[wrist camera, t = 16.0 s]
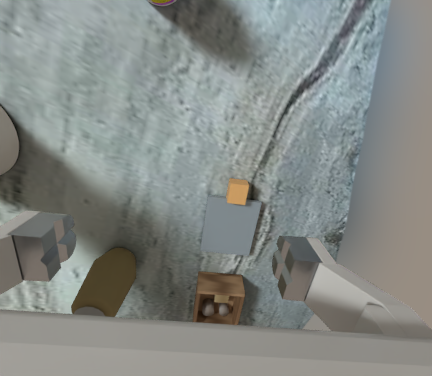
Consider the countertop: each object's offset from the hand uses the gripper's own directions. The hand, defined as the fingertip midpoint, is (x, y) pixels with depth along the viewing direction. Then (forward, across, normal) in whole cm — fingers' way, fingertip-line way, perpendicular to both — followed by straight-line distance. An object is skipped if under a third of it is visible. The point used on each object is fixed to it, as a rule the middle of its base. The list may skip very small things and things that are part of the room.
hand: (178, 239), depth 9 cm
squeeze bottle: (+29, +13, +27) cm, 42 cm away
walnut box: (+29, -7, +34) cm, 45 cm away
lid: (+29, -7, +15) cm, 34 cm away
